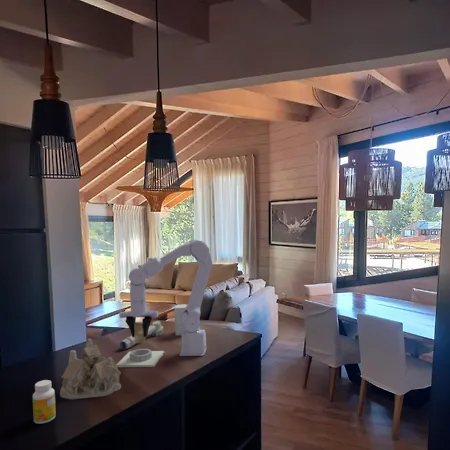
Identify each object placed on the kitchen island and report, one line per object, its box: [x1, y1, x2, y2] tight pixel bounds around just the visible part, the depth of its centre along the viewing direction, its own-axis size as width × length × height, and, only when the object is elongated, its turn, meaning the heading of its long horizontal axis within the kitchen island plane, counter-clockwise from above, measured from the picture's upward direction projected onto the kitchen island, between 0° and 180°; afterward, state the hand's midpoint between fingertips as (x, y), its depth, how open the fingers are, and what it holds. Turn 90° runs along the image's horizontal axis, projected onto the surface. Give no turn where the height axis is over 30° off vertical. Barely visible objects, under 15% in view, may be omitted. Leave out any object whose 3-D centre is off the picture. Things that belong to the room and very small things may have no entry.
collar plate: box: [115, 348, 165, 368], centre depth 142 cm, size 14×14×3 cm
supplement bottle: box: [32, 379, 57, 425], centre depth 101 cm, size 5×5×10 cm
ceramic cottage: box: [59, 338, 122, 400], centre depth 118 cm, size 16×16×15 cm
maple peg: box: [134, 321, 147, 344], centre depth 141 cm, size 4×4×7 cm
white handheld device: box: [119, 320, 164, 351], centre depth 165 cm, size 5×7×25 cm
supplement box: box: [173, 303, 188, 336], centre depth 173 cm, size 7×7×13 cm
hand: (139, 336), depth 141 cm, fingers closed on maple peg, 4 cm apart
